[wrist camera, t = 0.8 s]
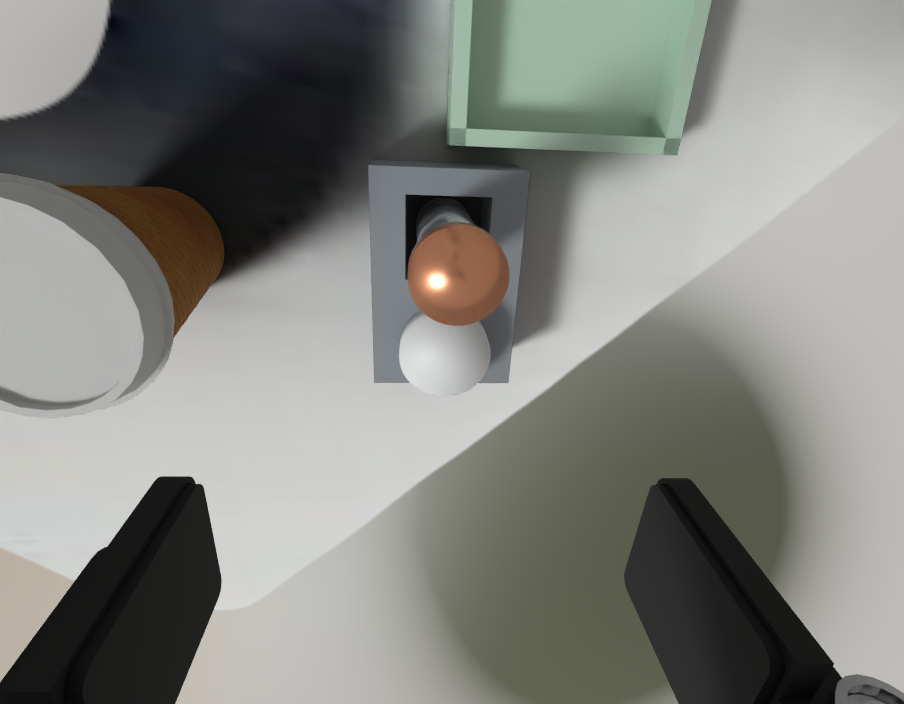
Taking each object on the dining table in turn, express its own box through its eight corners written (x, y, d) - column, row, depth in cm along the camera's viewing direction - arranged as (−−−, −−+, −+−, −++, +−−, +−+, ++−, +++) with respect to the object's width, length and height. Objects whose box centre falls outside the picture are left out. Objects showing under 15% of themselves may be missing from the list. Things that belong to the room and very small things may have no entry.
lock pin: (409, 188, 28) (407, 225, 18) (478, 191, 28) (514, 228, 18) (409, 257, 30) (407, 325, 20) (474, 259, 30) (504, 326, 20)
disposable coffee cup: (256, 175, 27) (152, 210, 16) (249, 330, 31) (161, 443, 20) (70, 137, 26) (-182, 147, 15) (87, 304, 29) (-104, 410, 19)
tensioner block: (374, 159, 27) (365, 167, 22) (515, 165, 28) (537, 174, 23) (378, 353, 32) (372, 396, 27) (497, 354, 33) (513, 396, 28)
